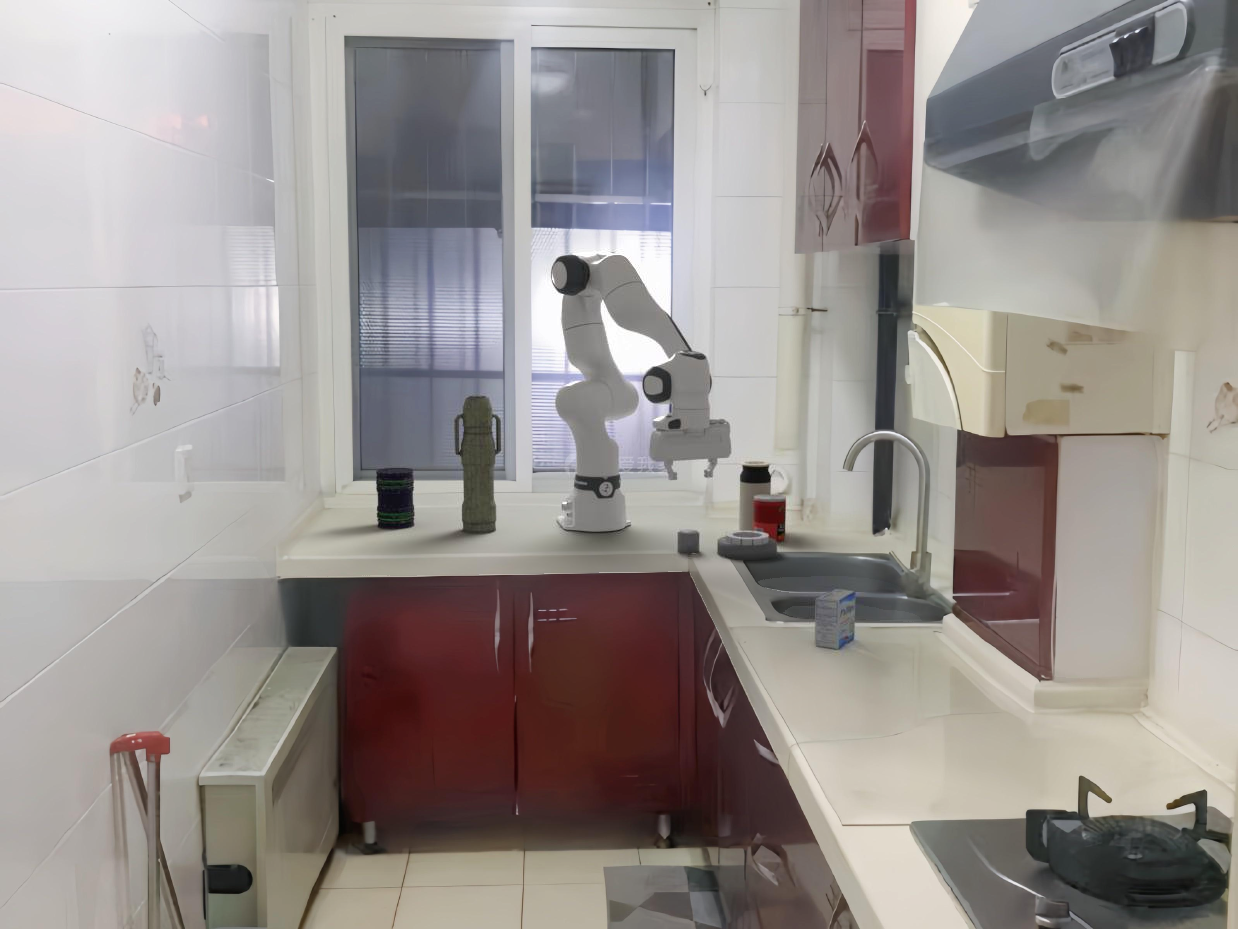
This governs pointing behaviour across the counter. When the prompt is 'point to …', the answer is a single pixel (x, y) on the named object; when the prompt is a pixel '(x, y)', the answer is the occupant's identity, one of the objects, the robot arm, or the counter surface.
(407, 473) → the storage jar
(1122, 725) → the counter surface
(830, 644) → the medicine box
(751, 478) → the travel mug
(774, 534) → the canned food
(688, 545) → the cap
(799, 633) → the counter surface
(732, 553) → the grey round peg base
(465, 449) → the thermos
